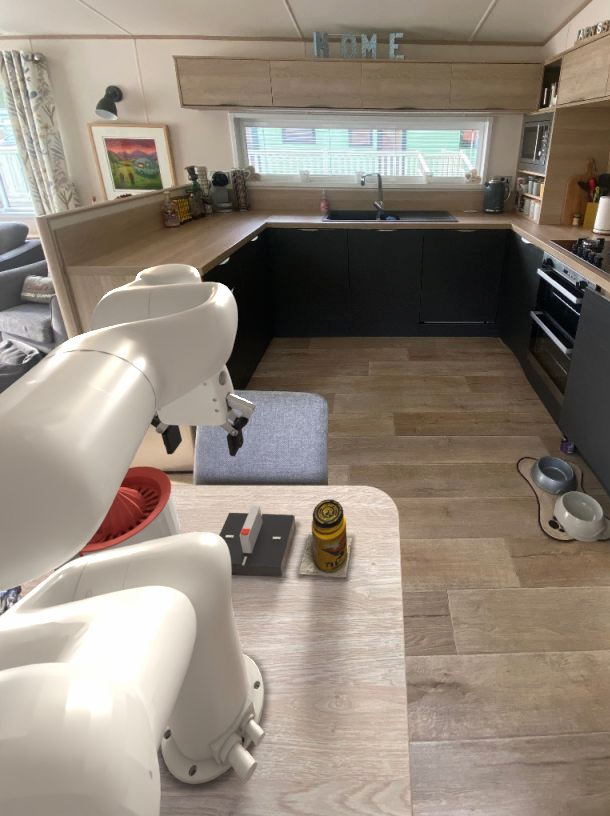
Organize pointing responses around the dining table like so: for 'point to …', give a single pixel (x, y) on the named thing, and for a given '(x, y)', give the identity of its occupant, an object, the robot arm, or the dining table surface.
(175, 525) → the citrus juicer
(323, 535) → the condiment
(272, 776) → the dining table surface
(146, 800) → the robot arm
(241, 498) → the dining table surface
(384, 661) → the dining table surface
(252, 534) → the tap handle
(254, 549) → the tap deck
